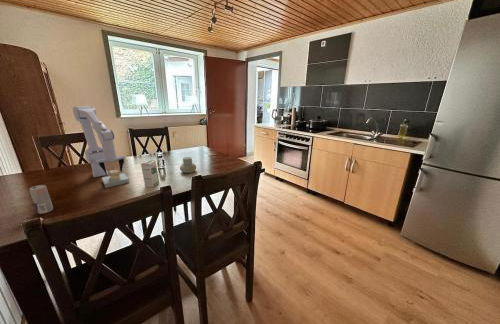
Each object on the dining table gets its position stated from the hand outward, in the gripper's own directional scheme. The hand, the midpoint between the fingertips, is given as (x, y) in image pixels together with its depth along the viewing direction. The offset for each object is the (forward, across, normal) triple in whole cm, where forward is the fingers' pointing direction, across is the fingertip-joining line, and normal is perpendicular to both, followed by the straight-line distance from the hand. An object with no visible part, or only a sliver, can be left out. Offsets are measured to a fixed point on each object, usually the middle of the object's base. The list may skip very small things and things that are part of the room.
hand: (113, 172), depth 123 cm
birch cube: (+3, 0, 0) cm, 4 cm away
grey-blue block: (+6, 0, 0) cm, 6 cm away
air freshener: (+6, +42, -11) cm, 44 cm away
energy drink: (+6, -30, -18) cm, 36 cm away
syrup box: (+6, +16, -18) cm, 25 cm away
